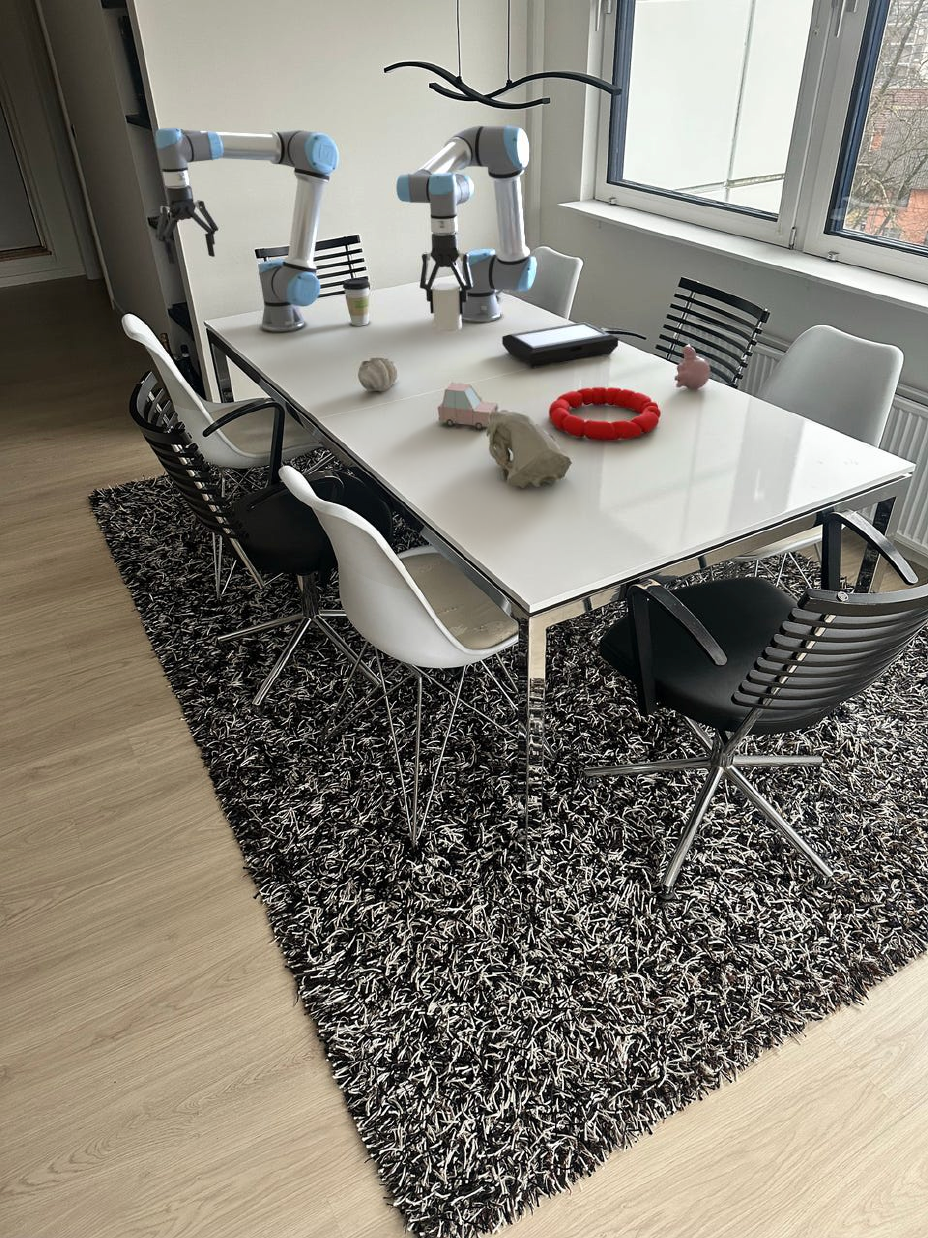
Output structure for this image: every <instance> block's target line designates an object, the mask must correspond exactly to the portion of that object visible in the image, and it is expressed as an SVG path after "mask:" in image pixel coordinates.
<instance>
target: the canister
mask: <svg viewBox="0 0 928 1238" xmlns="http://www.w3.org/2000/svg"><path fill="white" fill-rule="evenodd" d="M431 289H432V290H433V311H434V313H433V328H434V330H435V331H437V332H444V333H449V332H450V333H451V332H456V331H459V330H461V329H462V327H463V326H462V325H463V324H462V323H463V320H461V314H460V291H461V290H462V289H461V287H460V285H459V283H454V282H442V283H437V284H434V285H432V287H431Z"/></svg>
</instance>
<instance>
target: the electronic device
mask: <svg viewBox="0 0 928 1238" xmlns="http://www.w3.org/2000/svg"><path fill="white" fill-rule="evenodd" d="M501 343H502V344H501V345H502V346H503V347H504V349H505V350H506V351H507V353H508V354H509V355H511V356H513V357H514V358H516V359H518V360H519V361H521V362H523V363H524V364H526V365H527V366H529V367H530V368H532V369H534V368H539V367H545V366H551V365H556V364H563V363H568V362H572V361H573V362H574V361H578V360H579V361H580V360H584V359H590V358H595V357H601V356H606V355H611V354H613V352H614V351H615V350H616V349H617V348H618V346H619V337H617V336H615V335H613V334H611V333H609V332H607V331H605V330H603V329H602V328H599V327H597V326H595V325H593V324H591V323H589V322H587V321H581V322H576V323H569V324H563V325H557V326H552V327H546V328H540V329H533V330H528V331H527V330H526V331H522V332H515V333H510V334H506V335H503V336H501Z"/></svg>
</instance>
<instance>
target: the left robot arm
mask: <svg viewBox="0 0 928 1238" xmlns="http://www.w3.org/2000/svg"><path fill="white" fill-rule="evenodd" d="M155 141H156V147H157V148H156V149H157V151H158V156H159V160H160V165H161V171H162V177H163V181H164V186H166V188H165V192H166V196H167V200H168V206H164V205H159V216H158V217H159V218H158V222H157V227H156V231H155V235H154V238H155V240H157V241H158V242H161V243H162V247H163V251H164V253H165V254H167V258H168V262H169V264H171V265H176V259H175V255H174V251H173V250H174V249H173V245H172V241H170V238H171V236H172V234H173V232H174V230H175V228H176V227H177V224H178V223H179V221H185V220H191V219H192V220H194V221H195V222H196V224H198V225H199V226H200V227H201V228H202V229H203V230H204V231H205V233H204V237H205V242H206V249H207V253H208V254H207V255H208V256H209V257H212V258H214V257H215V256H216V255H215V251H214V249H215V248H214V245H215V244H216V241H215V233H216V232H218V231H219V227H218V226H217V224H216V222H215V221H214V219H213V218H212V216H211V214H210V213H209V211H208V210H207V208H206V206H205V205H206V204H205V201H203V200H201V199H198V200H196V201H194V195H193V188H192V186H191V179H190V173H189V167H188V163H189V164H190V163H196V162H204V161H215V160H219V159H223V160H224V159H226V160H246V161H247V160H249V161H268V162H270V163H271V164H273V165H281V166H286V167H290V168H293V169H294V170H293V175H294V176H295V178H296V179H297V183H296V192H295V200H294V207H293V213H292V214H293V215H292V222H291V230H290V240H289V246H288V255H287V256H286V258H277V259H271V260H266V261H262V262H260V263H259V264H258V275H259V281H260V287H261V292H262V293H261V294H262V299H263V313H262V319H261V326H262V330H264V331H265V332H271V333H286V332H293V331H296V330H297V331H298V330H300V329H302V328H304V326H305V319H304V317H303V314H302V312H301V310H300V307H308V306H310V305H312V304H313V303H315V302H316V300H317V299H318V298H319V296H320V292H321V283H320V280H319V279H318V277H317V270H318V267H317V266H316V264H315V262H314V260H315V259H314V258H315V251H316V246H317V245H316V243H317V238H318V237H317V236H318V230H319V223H320V214H321V208H322V201H323V195H324V194H323V193H324V187H325V185H327V184H329V182H330V178H331V177H330V176H331V173H333V172H334V171H335V170H336V169H337V167H338V164H339V159H340V157H339V155H340V154H339V150H338V147H337V145H336V143H335V141H334V140H333V139H332V138H331V137H330V136H329V135H327V134H325V133H321V132H317V131H307V130H301V129H299V130H289V131H271V132H269V133H268V134H261V133H242V132H227V131H209V130H208V131H207V130H191V129H190V130H189V129H182V128H179V127H163V128H158V129H157V130H156V131H155ZM196 208H197V209H198V210H199V212H200V213H201V215H202V217H203V218H204V220H205V221H206V222H205V221H204V220H203V219H202V218H201V217H200V216H199V215H198V214H197V212H195V211H196ZM169 213H171V214H170V217H169V220H168V214H169ZM167 220H168V223H167ZM166 224H167V225H166Z"/></svg>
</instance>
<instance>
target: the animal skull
mask: <svg viewBox="0 0 928 1238" xmlns="http://www.w3.org/2000/svg"><path fill="white" fill-rule="evenodd" d="M485 436H486V438H487V437H489V438H488V440H489V444H488V445H489V446H488V450H489V454H490V456H491V457H492V458H493V459H494V460H495V462H496V464H497V466H499V468H500V470H501V471H502V472H501V478H502V479H507V480H506V484H507V486H517V487H518V486H519V488H523V489H524V488H526V486H527V485H529V483H531V485H533V486H534V487H536V488H540V485H541V484H542V482H544V483H549V484H550V485H553V484H555V483H556V482H557V480H561V479H563V478H565V476H566V474H567V472H568V471H569V469H570V467H571V466H572V464H573V462H572V461H571V458H570V457H568V456H567V455H565V453H564V451H562V449H561V448H560V446H559V444H557V443H556V439H555V438H554V436H553V435H551V434H550V433H548V432H547V431H546V430H545V429H544V428H542V427H541V426H539V425H538V424H537V423H536V424H535V422H534V421H533V419H532V418H531V417H530V416H529V415H527V414H524V413H519V412H515V411H509V410H507V409H502V410H500V411H499V410H497V411H496V412H492V413H491V414H490V422H488V423H487V427H486V435H485ZM511 453H512V454H511ZM511 455H512V457H513V458H512V460H511ZM507 474H508V475H507Z"/></svg>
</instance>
